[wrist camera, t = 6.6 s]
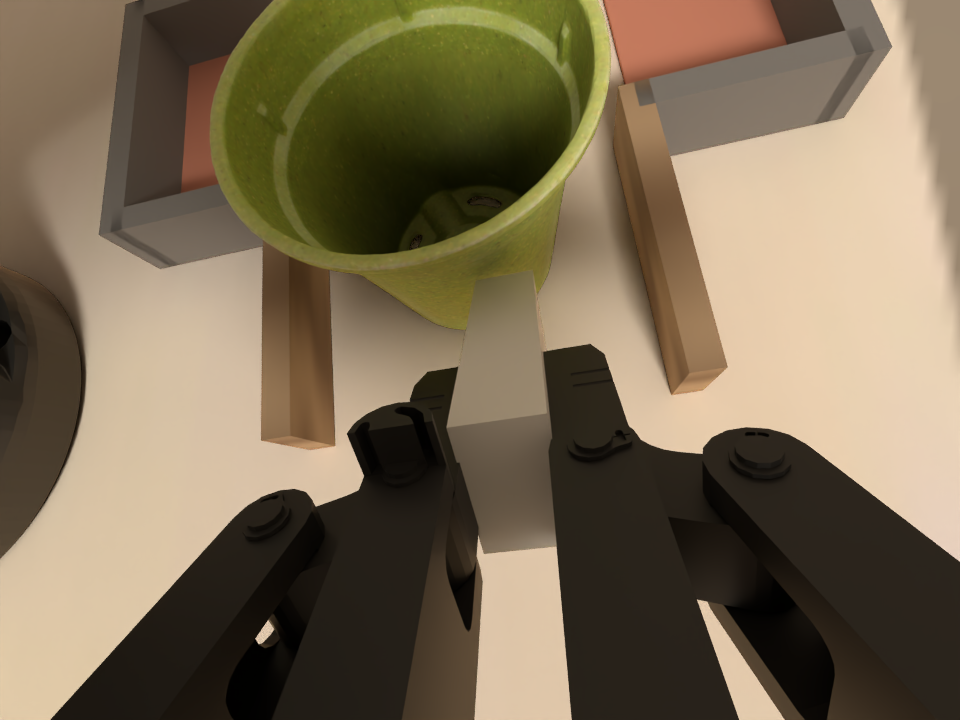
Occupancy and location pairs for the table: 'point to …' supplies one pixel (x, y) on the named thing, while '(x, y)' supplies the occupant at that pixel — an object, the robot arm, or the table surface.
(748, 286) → the table surface
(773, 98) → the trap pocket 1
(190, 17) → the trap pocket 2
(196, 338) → the table surface
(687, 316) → the chute
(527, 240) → the plant pot
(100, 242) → the table surface
